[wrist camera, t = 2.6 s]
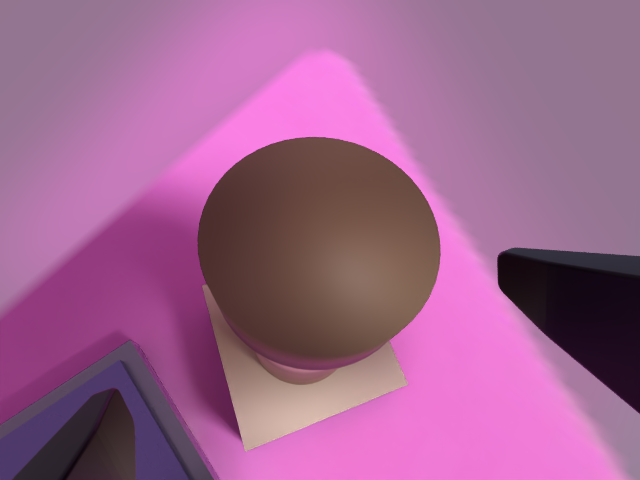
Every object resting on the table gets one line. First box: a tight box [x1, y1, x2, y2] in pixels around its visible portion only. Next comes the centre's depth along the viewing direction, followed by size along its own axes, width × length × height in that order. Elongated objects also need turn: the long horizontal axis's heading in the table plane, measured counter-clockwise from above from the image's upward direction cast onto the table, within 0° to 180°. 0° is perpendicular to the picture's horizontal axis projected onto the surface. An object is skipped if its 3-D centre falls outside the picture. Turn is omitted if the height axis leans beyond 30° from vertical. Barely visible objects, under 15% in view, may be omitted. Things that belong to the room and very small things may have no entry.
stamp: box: [198, 137, 440, 452], centre depth 12 cm, size 6×6×11 cm
